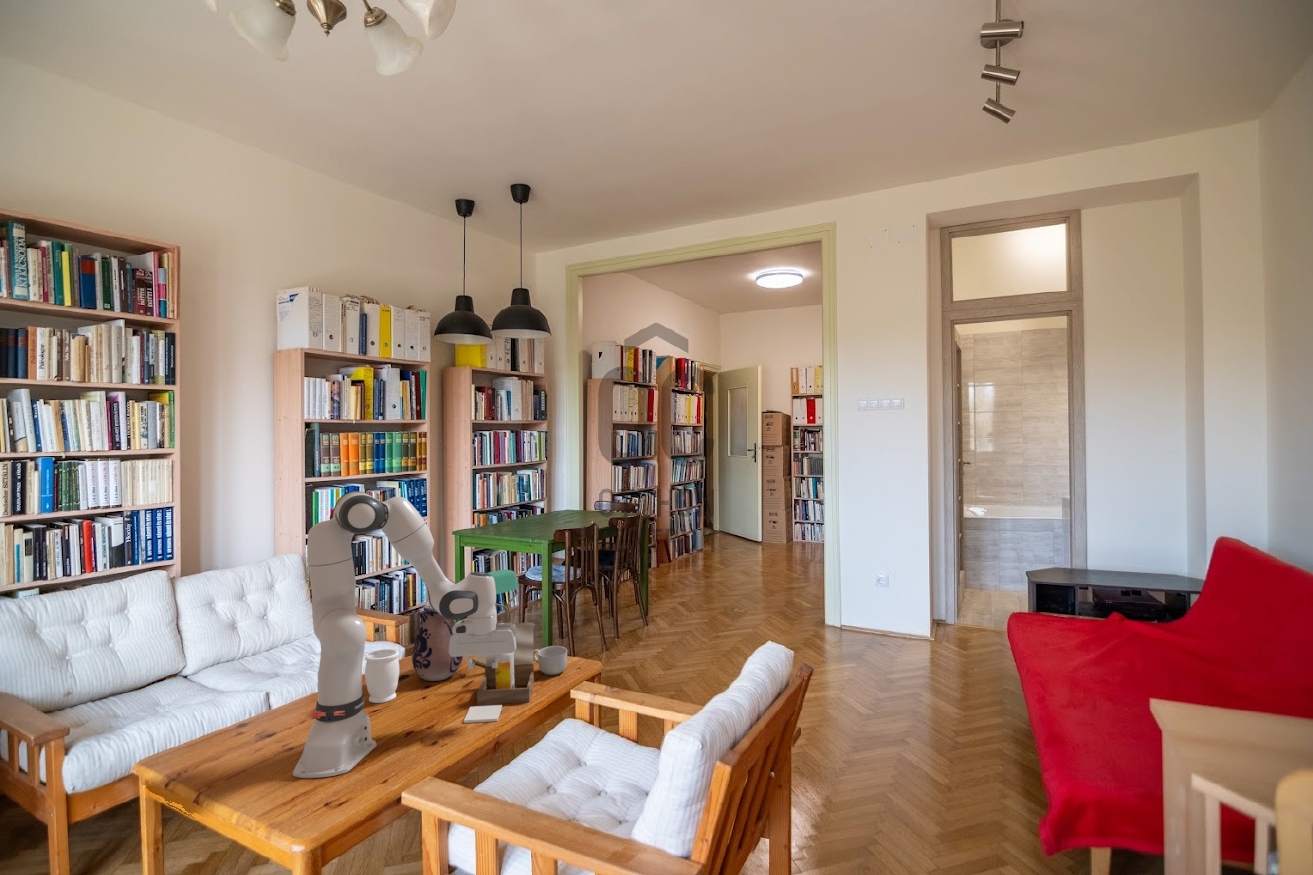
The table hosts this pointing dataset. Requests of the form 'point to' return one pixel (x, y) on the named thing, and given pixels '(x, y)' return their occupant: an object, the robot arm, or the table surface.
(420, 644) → the ceramic pitcher
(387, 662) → the jar
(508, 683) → the beer can
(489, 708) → the stone tile
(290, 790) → the table surface
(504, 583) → the banker's lamp
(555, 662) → the teacup
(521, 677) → the box
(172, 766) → the table surface
